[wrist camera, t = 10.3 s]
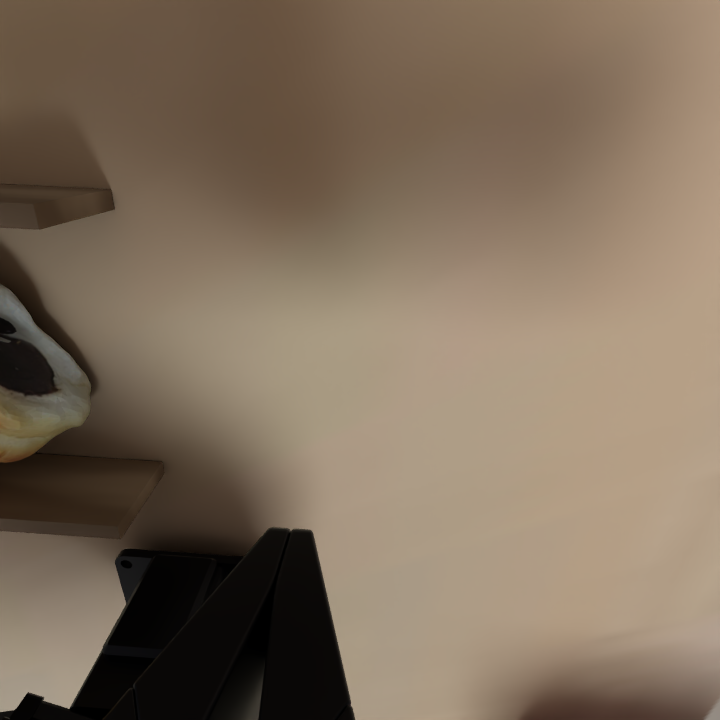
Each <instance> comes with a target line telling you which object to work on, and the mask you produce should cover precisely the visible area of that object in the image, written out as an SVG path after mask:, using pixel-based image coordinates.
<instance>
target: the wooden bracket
mask: <svg viewBox="0 0 720 720" xmlns="http://www.w3.org/2000/svg"><path fill="white" fill-rule="evenodd" d="M110 210H114V204H113V199H112V193H111V189H94V188H73V187H52V186H32V185H11V184H0V227H1V228H21V229H43V228H47V227H51V226H54V225H58V224H62V223H65V222H69V221H73V220H77V219H80V218H84V217H88V216H92V215H95V214H99V213H103V212H107V211H110ZM163 474H164V469H163V464H162V462H159V461H143V460H128V459H112V458H97V457H81V456H66V455H51V454H35V453H34V454H32V455H31V456H29V457H26V458H24V459H22V460H18V461H14V462H7V463H4V462H0V531H11V532H26V533H40V534H54V535H69V536H83V537H97V538H112V539H121V538H122V537H123V535H124V534H125V532H126V530H127V529H128V527H129V526H130V524H131V523H132V521H133V520H134V518H135V517H136V515H137V514H138V512H139V511H140V509H141V508H142V506H143V505H144V503H145V502H146V500H147V499H148V497H149V496H150V494H151V493H152V491H153V489H154V488H155V486H156V485H157V483H158V482H159V480H160V479H161V477H162V476H163Z"/></svg>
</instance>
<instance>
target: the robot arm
mask: <svg viewBox="0 0 720 720" xmlns="http://www.w3.org/2000/svg"><path fill="white" fill-rule="evenodd" d="M115 565H116V568H117V572H118V575H119V579H120V583H121V586H122V590H123V593H124V597H125V600H126V606H125V608H124V609H123V611H122V613H121V615H120V617H119V618H118V620H117V622H116V624H115V626H114V627H113V629H112V631H111V633H110V635H109V636H108V638H107V640H106V642H105V644H104V645H103V649H102V651H101V653H100V654H99V656H98V658H97V660H96V662H95V664H94V665H93V667H92V669H91V671H90V673H89V674H88V676H87V678H86V680H85V682H84V683H83V685H82V687H81V689H80V691H79V692H78V694H77V696H76V698H75V700H74V701H73V703H72V705H71V707H70V709H67V708H64V707H61V706H58V705H55V704H52V703H49V702H45V701H43V700H44V697H42V696H39V695H35V694H32V693H29V692H28V693H27V694H26V696H25V697H24V699H23V700H22V701H21V703H20V704H19V706H18V707H17V709H15V710H13V711H6V712H0V720H355V717H354V712H353V708H352V707H351V700H350V695H349V691H348V686H347V682H346V678H345V673H344V669H343V664H342V660H341V655H340V651H339V646H338V642H337V637H336V633H335V628H334V624H333V620H332V615H331V611H330V606H329V602H328V597H327V593H326V588H325V584H324V579H323V575H322V570H321V566H320V562H319V557H318V553H317V548H316V544H315V539H314V535H313V532H312V531H311V530H306V529H293V530H292V531H291V530H290V529H288V528H278V527H271V528H269V529H268V530H267V531H266V532H265V533H264V534H263V536H262V537H261V538H260V539H259V540H258V541H257V542H256V544H255V545H254V546H253V547H252V548H251V549H250V551H249V552H248V553H247V554H246V555H245V556H244V557H239V556H225V555H211V554H197V553H182V552H168V551H154V550H140V549H124V550H122V551H121V552H120V554H119V555H118V557H117V559H116V560H115Z"/></svg>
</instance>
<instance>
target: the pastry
mask: <svg viewBox="0 0 720 720" xmlns="http://www.w3.org/2000/svg"><path fill="white" fill-rule="evenodd" d="M90 392H91V384H90V382H89V380H88V377H87V375H86V374H85V373H84V372H83V370H82V369H81V368H80V367H79V366H78V365H77V364H76V362H75V361H74V359H73V358H72V357H71V356H70V354H68V353H67V352H66V351H65V350H64V349H63V348H62V347H60V346H59V345H58V344H57V343H56V342H55V341H54V340H53V339H52V338H51V337H50V336H48V335H47V334H46V333H45V332H44V331H42V330H41V329H40V328H39V327H38V326H37V325H36V324H35V323H34V321H33V319H32V317H31V316H30V314H29V312H28V311H27V310H26V309H25V307H24V306H23V305H22V303H21V302H20V301H19V300H18V298H17V297H16V296H15V295H14V294H13V293H12V291H11V290H9V289H8V288H6V287H5V286H3V285H1V284H0V462H4V463H7V462H14V461H18V460H22V459H24V458H26V457H29V456H31V455H32V454H34V453H35V452H36V451H38V450H39V449H40V448H42V447H43V446H44V445H45V444H47V443H48V442H49V441H50V440H51V439H52V438H54V437H55V436H57V435H58V434H60V433H62V432H64V431H66V430H67V429H69V428H73V427H79V426H81V425H82V424H83V423H84V422H85V420H86V419H87V417H88V416H89V413H90V404H91V402H90V398H89V395H90Z"/></svg>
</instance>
